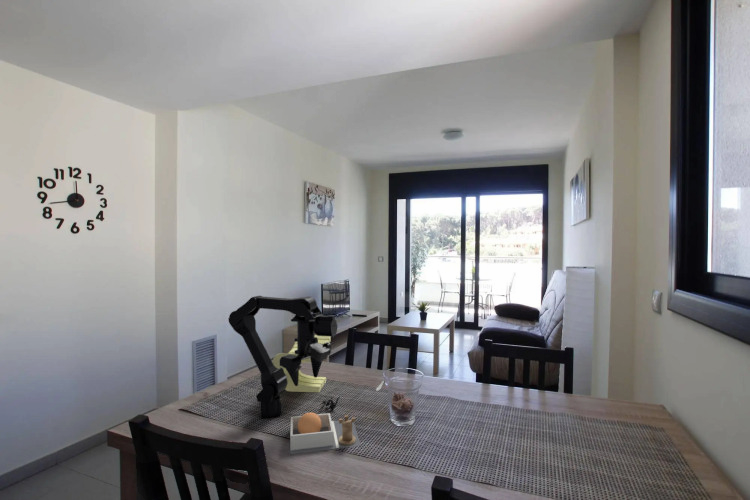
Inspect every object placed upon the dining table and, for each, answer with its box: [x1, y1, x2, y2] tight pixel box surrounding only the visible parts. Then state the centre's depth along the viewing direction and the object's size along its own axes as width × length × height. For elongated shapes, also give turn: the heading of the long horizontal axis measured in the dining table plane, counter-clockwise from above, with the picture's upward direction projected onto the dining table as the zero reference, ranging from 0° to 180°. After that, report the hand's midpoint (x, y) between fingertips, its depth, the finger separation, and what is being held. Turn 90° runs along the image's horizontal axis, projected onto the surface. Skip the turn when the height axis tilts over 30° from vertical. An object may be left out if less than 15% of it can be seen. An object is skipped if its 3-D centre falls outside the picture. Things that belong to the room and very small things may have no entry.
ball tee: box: [338, 414, 356, 445], centre depth 109 cm, size 5×5×7 cm
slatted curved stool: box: [272, 334, 332, 393], centre depth 155 cm, size 30×16×18 cm, turn 174°
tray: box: [289, 412, 334, 451], centre depth 111 cm, size 12×12×4 cm
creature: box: [317, 395, 341, 411], centre depth 132 cm, size 8×5×8 cm
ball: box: [298, 411, 321, 434], centre depth 112 cm, size 7×7×7 cm
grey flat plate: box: [289, 418, 362, 455], centre depth 113 cm, size 20×17×1 cm
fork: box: [375, 380, 385, 392], centre depth 158 cm, size 3×24×2 cm, turn 162°
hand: (306, 381), depth 124 cm, fingers open, 9 cm apart
